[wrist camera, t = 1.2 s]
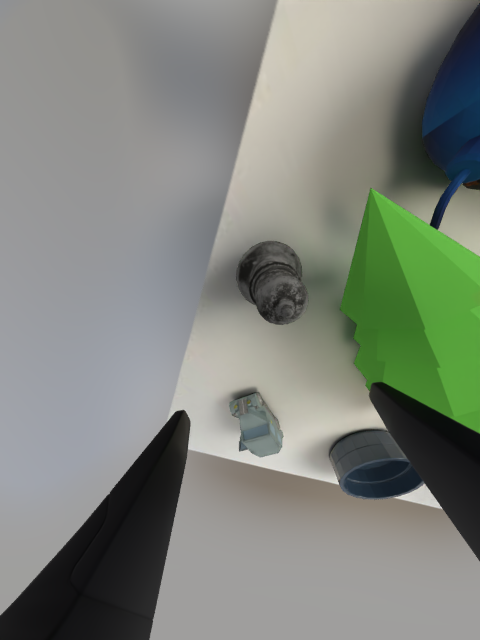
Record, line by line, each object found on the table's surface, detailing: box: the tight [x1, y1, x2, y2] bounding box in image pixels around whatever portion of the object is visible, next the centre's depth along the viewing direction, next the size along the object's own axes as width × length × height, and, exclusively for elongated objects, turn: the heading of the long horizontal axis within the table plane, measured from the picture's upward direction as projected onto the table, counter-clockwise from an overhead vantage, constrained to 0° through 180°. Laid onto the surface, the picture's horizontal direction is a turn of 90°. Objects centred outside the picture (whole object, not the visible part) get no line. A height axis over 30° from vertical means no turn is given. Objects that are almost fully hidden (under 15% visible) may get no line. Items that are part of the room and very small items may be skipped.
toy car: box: [229, 393, 283, 457], centre depth 27 cm, size 6×10×5 cm, turn 29°
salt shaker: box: [236, 241, 308, 325], centre depth 13 cm, size 6×6×12 cm
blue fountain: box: [330, 430, 424, 499], centre depth 30 cm, size 13×13×4 cm
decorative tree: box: [340, 188, 480, 433], centre depth 16 cm, size 11×12×30 cm
